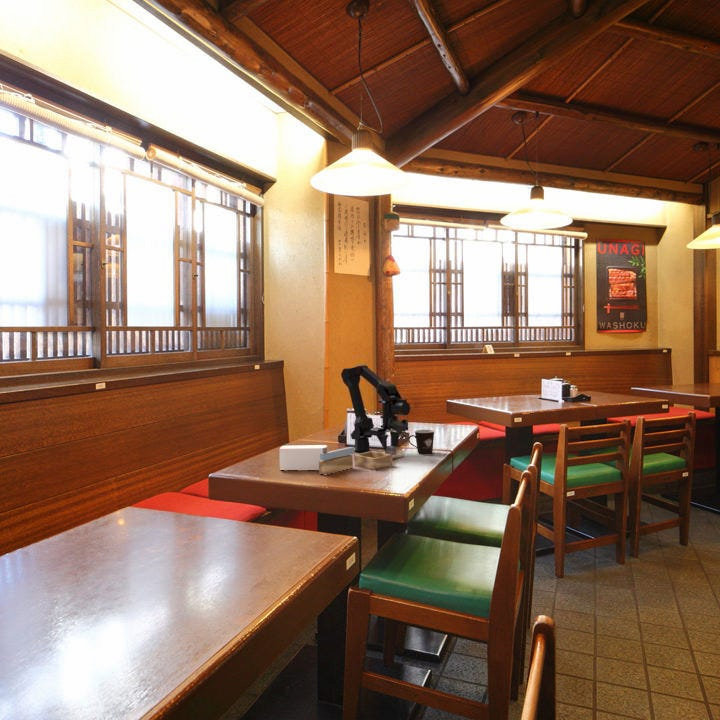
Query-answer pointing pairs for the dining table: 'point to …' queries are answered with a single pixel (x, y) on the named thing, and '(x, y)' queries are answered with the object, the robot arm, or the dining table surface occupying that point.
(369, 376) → the robot arm
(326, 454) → the block
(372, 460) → the toolbox
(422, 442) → the coffee mug
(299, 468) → the white rectangular block
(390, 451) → the lid
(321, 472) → the tan rectangular bar
